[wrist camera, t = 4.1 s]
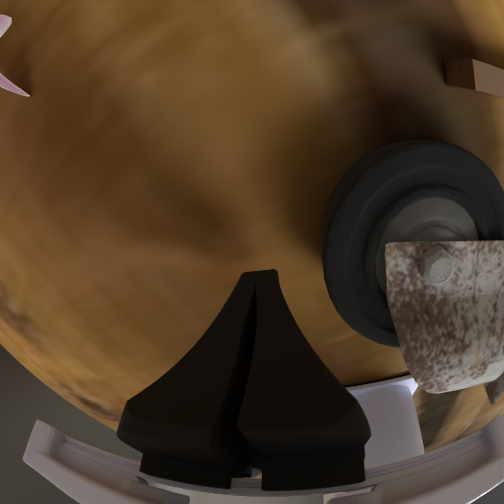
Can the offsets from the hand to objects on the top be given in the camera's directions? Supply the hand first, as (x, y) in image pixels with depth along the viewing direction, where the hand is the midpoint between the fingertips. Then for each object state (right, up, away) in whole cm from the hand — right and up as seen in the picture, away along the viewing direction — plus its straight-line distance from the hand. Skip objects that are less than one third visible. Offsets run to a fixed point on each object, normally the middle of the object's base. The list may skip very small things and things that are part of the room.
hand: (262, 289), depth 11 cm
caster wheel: (+7, +2, +1) cm, 8 cm away
